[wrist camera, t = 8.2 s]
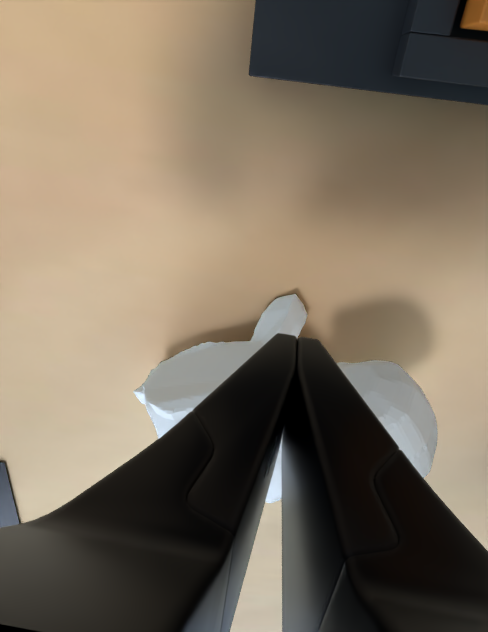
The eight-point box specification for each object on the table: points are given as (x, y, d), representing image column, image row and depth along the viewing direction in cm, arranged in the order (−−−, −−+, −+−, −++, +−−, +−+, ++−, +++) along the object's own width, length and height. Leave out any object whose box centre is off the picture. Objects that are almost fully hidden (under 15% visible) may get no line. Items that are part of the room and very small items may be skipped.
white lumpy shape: (240, 410, 31) (473, 415, 22) (171, 516, 25) (446, 586, 16) (180, 311, 28) (424, 267, 18) (85, 407, 22) (367, 414, 13)
